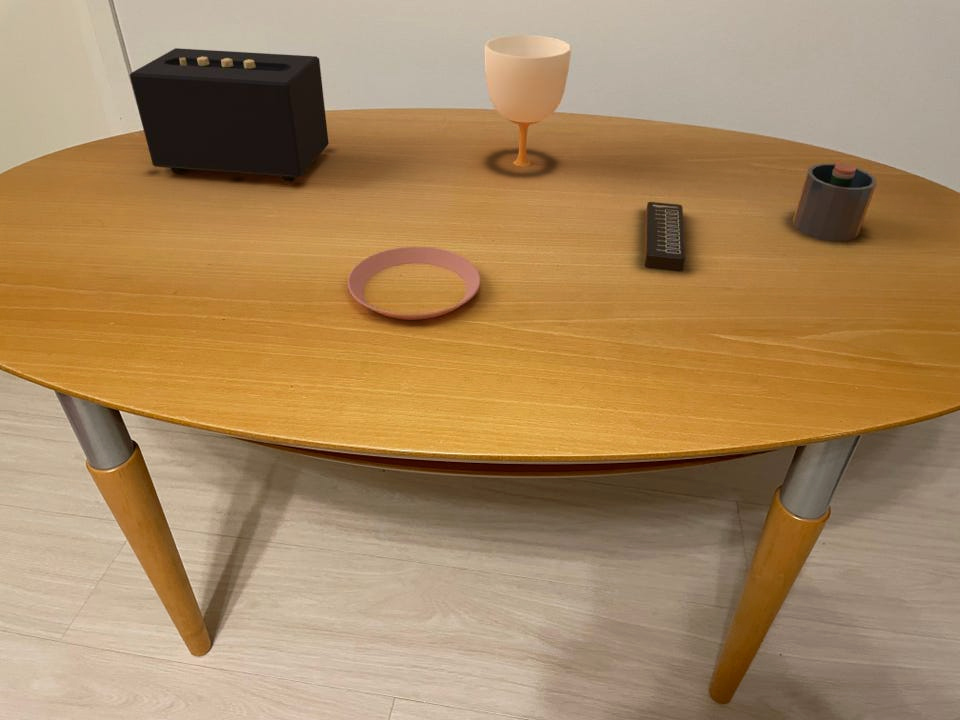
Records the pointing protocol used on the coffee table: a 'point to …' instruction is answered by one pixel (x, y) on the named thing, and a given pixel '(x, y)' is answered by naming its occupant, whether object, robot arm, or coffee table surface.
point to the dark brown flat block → (664, 237)
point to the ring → (413, 256)
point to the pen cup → (833, 204)
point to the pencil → (842, 175)
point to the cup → (526, 80)
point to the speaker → (232, 111)
